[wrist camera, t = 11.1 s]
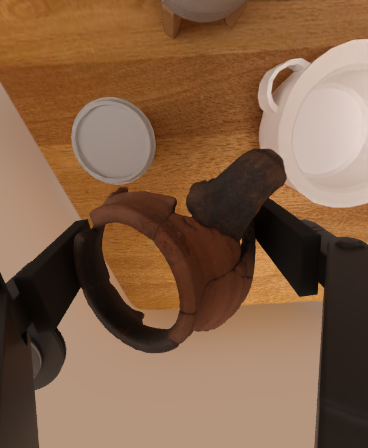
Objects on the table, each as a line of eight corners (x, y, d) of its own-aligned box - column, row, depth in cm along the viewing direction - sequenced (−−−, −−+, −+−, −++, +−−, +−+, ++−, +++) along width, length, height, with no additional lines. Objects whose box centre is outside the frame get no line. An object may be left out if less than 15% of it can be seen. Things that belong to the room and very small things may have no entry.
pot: (214, 141, 39) (231, 146, 28) (284, 29, 34) (340, -22, 23) (316, 210, 44) (367, 239, 32) (391, 120, 39) (482, 116, 27)
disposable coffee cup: (89, 152, 39) (54, 160, 28) (114, 93, 36) (87, 76, 25) (143, 181, 41) (132, 201, 30) (171, 127, 38) (170, 126, 27)
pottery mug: (216, 309, 19) (153, 402, 12) (134, 228, 21) (40, 269, 14) (345, 193, 13) (364, 250, 6) (212, 92, 15) (112, 49, 8)
